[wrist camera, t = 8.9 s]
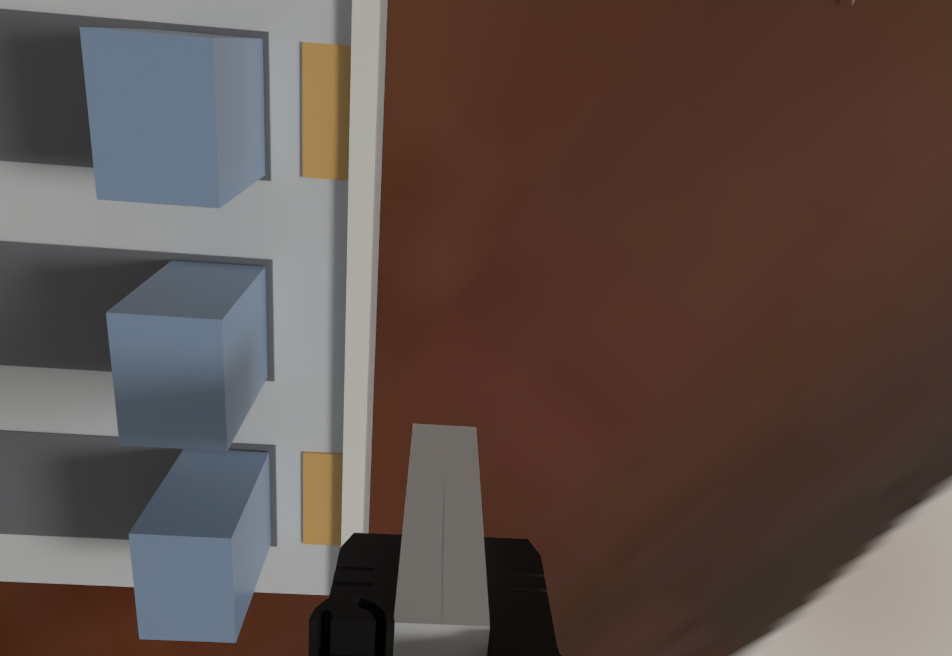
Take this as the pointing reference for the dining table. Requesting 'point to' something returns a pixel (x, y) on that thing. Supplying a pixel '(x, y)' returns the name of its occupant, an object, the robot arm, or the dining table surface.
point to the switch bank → (198, 240)
